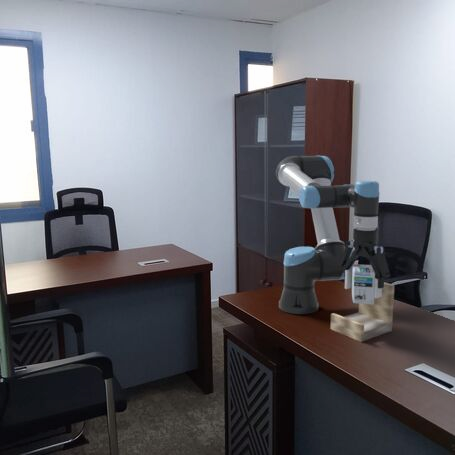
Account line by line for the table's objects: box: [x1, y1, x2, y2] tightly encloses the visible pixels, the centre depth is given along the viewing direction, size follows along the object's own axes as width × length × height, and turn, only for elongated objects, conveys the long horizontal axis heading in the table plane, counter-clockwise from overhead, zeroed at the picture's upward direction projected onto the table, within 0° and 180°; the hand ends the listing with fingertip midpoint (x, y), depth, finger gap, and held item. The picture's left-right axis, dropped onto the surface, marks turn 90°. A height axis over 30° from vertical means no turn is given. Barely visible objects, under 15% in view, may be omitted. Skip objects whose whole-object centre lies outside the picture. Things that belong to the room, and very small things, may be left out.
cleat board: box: [330, 281, 395, 343], centre depth 154 cm, size 13×16×16 cm
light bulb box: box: [351, 263, 376, 305], centre depth 153 cm, size 11×7×11 cm, turn 168°
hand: (362, 292), depth 153 cm, fingers closed on light bulb box, 12 cm apart
